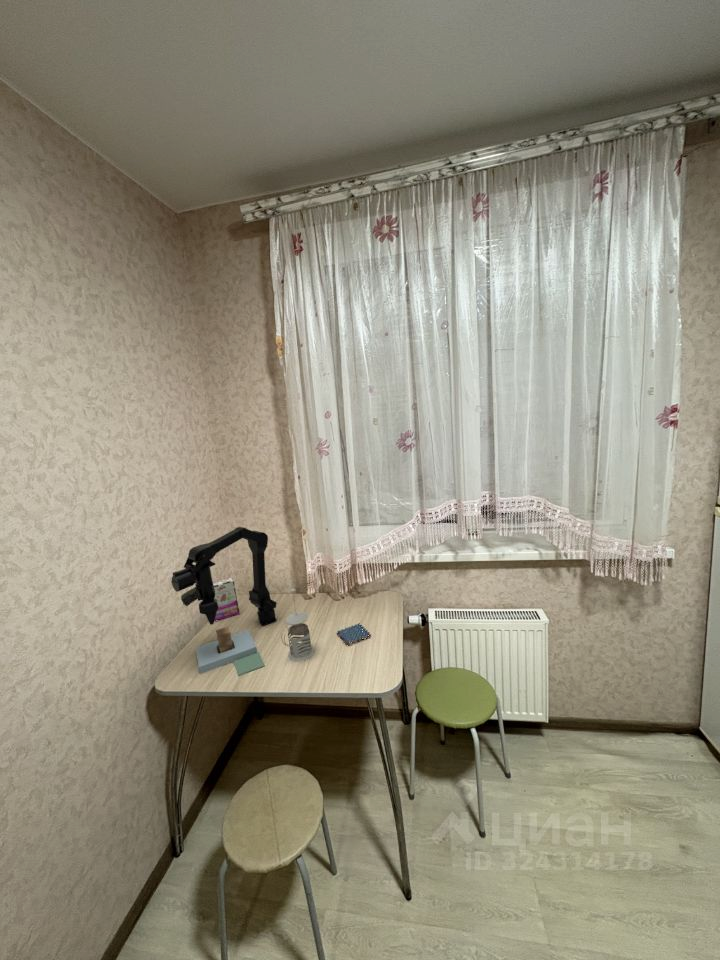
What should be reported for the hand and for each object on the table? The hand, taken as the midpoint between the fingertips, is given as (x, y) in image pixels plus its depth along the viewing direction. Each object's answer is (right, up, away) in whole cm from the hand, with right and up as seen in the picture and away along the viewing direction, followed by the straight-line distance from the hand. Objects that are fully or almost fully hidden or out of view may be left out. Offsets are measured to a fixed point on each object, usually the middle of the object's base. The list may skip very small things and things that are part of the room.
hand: (211, 618), depth 144 cm
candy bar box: (-4, -9, +28) cm, 29 cm away
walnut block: (+6, -13, -1) cm, 14 cm away
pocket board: (+6, -13, -1) cm, 14 cm away
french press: (+34, -11, -6) cm, 36 cm away
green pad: (+17, -13, -9) cm, 23 cm away
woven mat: (+54, -8, +3) cm, 55 cm away
